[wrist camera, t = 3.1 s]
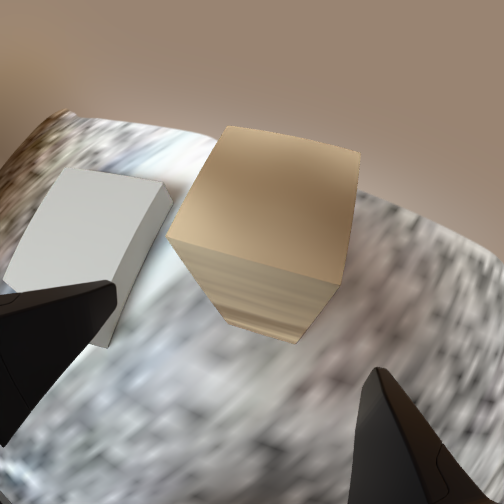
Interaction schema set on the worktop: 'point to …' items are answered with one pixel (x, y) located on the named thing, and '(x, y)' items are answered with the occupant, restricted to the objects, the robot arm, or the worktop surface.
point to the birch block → (268, 228)
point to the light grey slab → (90, 235)
